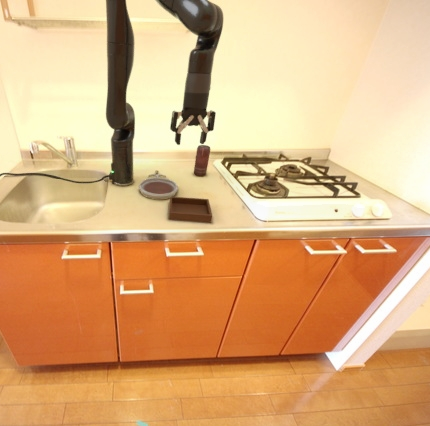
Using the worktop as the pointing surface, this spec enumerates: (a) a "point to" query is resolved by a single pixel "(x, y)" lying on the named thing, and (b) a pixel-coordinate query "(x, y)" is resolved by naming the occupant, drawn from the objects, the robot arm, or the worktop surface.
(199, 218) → the tray
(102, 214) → the worktop surface
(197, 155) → the can
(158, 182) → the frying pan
